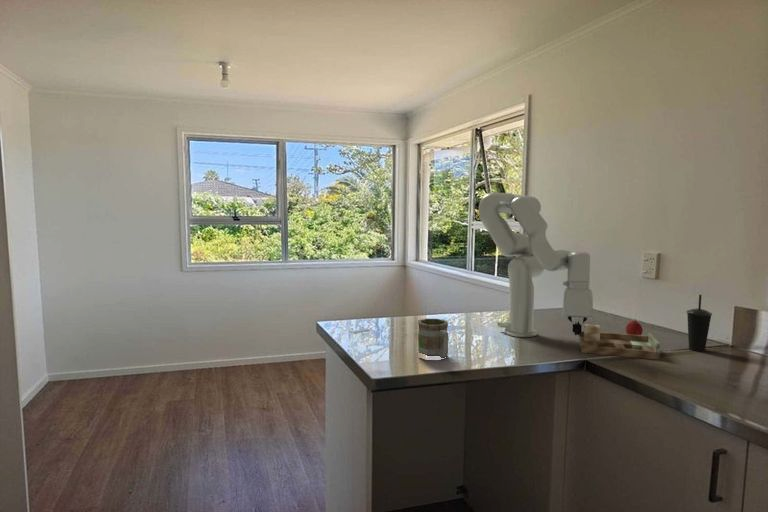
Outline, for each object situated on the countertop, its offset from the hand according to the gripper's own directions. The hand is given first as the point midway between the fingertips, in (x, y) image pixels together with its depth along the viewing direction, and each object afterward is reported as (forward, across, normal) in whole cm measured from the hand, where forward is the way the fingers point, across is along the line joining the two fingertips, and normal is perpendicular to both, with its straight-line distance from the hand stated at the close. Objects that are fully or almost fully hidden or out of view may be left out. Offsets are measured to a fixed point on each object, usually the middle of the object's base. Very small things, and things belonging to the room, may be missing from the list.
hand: (576, 334), depth 174 cm
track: (+4, +13, -3) cm, 14 cm away
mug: (+4, -46, -32) cm, 56 cm away
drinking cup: (+5, +40, +7) cm, 41 cm away
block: (+2, +5, 0) cm, 5 cm away
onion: (+4, +22, +15) cm, 27 cm away
